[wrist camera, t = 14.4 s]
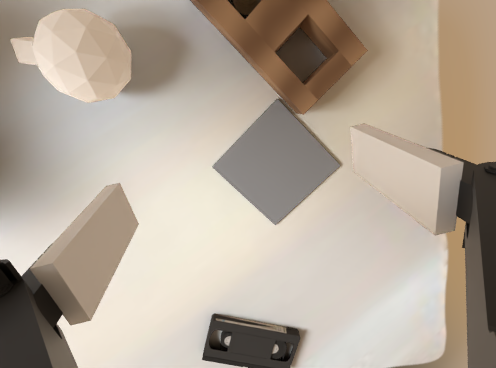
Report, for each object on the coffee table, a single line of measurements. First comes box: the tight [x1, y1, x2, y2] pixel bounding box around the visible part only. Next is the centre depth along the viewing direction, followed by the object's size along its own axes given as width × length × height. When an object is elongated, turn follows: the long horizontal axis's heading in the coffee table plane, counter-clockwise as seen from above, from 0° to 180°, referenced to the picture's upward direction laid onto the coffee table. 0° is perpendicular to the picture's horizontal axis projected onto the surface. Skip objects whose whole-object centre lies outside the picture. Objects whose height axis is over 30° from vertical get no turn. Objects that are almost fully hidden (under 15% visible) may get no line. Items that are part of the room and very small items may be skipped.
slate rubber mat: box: [212, 99, 340, 225], centre depth 36 cm, size 12×12×1 cm
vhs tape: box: [202, 314, 300, 368], centre depth 44 cm, size 14×8×2 cm, turn 77°
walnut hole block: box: [190, 0, 368, 114], centre depth 29 cm, size 18×9×4 cm, turn 46°
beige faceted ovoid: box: [10, 9, 131, 103], centre depth 28 cm, size 9×9×12 cm
